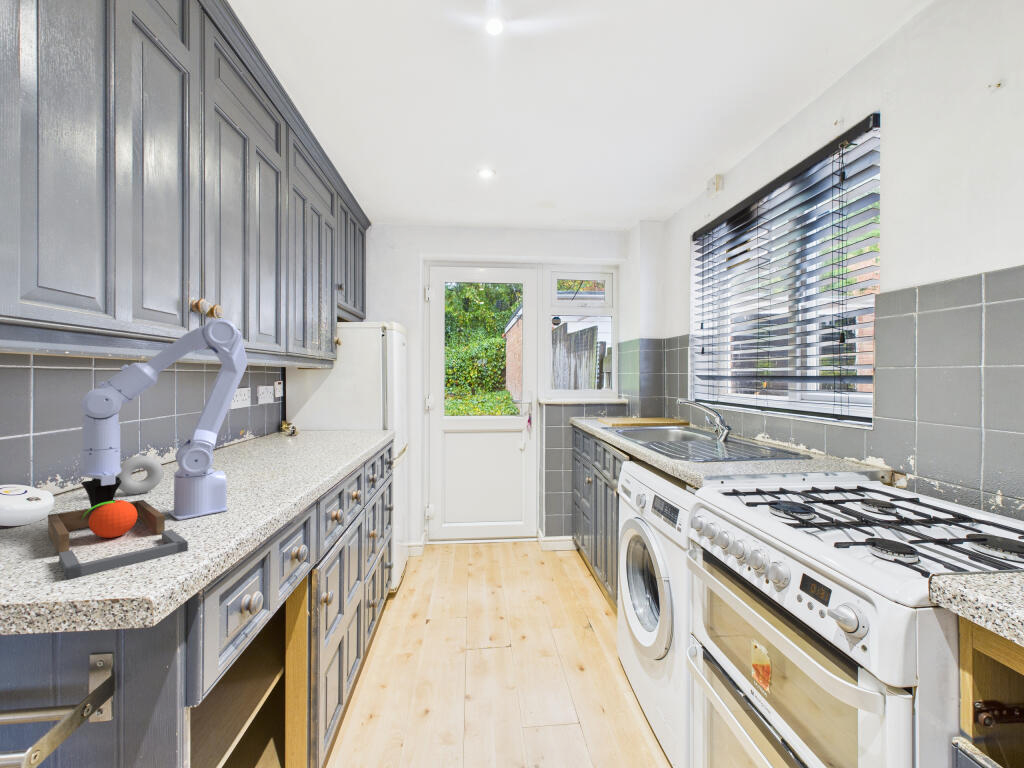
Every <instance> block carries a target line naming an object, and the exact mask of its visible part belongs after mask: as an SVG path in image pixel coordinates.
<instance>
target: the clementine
mask: <svg viewBox="0 0 1024 768" xmlns="http://www.w3.org/2000/svg"><path fill="white" fill-rule="evenodd" d="M129 502H130V501H126V500H123V499H113V501H108V502H103V503H100V504H98V505H95V506H94V507H92V508H91V507H90V509H89V510H88V511H87V512H89V511H90V510H92V509H93V508H95V507H97V506H98V507H97V508H96V509H95V510H94V511H93V512H92V514H91V516H90V517H89V527H88V528H89V529H90V530H91V532H92V533H93V534H94V535H96V536H98V537H101V538H105V539H106V538H107V539H114V538H117V537H120V536H123V535H124V534H126V533H128V532H129V531H130V530H131V529H132V528H133V527H134V526H135V524H136V523H137V520H138V518H137V516H138V515H137V510H136V508H135V507H134V506H133V505H132V504H131V503H129ZM87 512H86V513H87ZM86 513H85V514H86ZM85 514H84V516H85ZM84 516H83V517H84ZM82 519H83V518H82ZM113 537H114V538H113Z"/></svg>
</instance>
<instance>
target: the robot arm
mask: <svg viewBox="0 0 1024 768" xmlns="http://www.w3.org/2000/svg"><path fill="white" fill-rule="evenodd" d="M206 348H209V349H210V350H212V351H213V352H214V353H215V356H216V357H217V358H218V360H219V362H220V363H221V367H220V369H219V371H218V373H217V375H216V378H215V380H214V382H213V384H212V386H211V388H210V391H209V393H208V396H207V397H206V399H205V400H206V401H205V402H204V404H203V408H202V410H201V412H200V413H199V416H198V418H197V420H196V423H195V425H194V427H193V429H192V431H191V433H190V434H189V435H188V438H187V440H186V441H185V442H184V443H183V444H182V445H181V446H180V447H179V448H178V449H177V451H176V453H175V461H176V462H177V466H178V470H176V471H175V472H174V474H173V475H174V476H173V509H171V510H168V511H167V514H168V515H170V516H171V517H172V518H174V519H176V520H178V521H180V520H186V519H190V518H192V519H193V518H196V517H197V518H198V517H201V516H207V515H211V514H212V515H213V514H216V513H217V514H218V513H222V512H226V511H228V510H229V509H228V508H227V501H228V499H227V497H228V496H227V491H228V489H227V488H228V486H227V485H228V484H227V476H226V473H225V472H224V470H214V468H213V467H212V466H213V464H214V455H213V454H214V448H215V446H216V443H217V438H218V437H217V436H218V434H219V431H220V430H221V427H222V425H223V423H224V420H225V418H226V415H227V413H228V410H229V408H230V406H231V403H232V402H233V399H234V397H235V396H236V395H235V394H236V393H237V390H238V388H239V385H240V383H241V381H242V378H243V376H244V374H245V371H246V369H247V366H248V357H247V353H246V350H245V349H246V348H245V345H244V341H243V334H241V331H240V330H239V329H238V328H237V326H236V325H235V324H234V323H233V322H232V321H231V320H228V319H225V318H215V319H211V320H210V321H209V322H207V324H205V325H200V326H199V327H197V328H195V329H193V330H190V331H189V332H187V333H185V334H184V335H182V336H181V337H179V338H178V339H176V340H175V341H174V342H172V343H171V344H170V345H168V346H167V347H165V348H164V349H163V350H161V351H160V352H158V354H156V355H155V356H154V357H152V358H150V359H149V360H148V361H147V362H132V363H131V364H129V365H128V364H123V366H121V367H120V370H121V371H118V372H117V373H116V374H115V375H113V376H112V377H110V378H109V379H108V380H106V381H100V382H98V383H97V386H98V387H99V388H95V389H91V390H89V391H88V392H87V393H86V394H85V395H84V396H83V397H82V399H81V400H80V401H81V402H80V407H81V410H82V411H83V413H84V414H83V417H82V423H83V425H82V426H81V471H75V472H73V475H72V476H73V477H74V478H78V477H79V478H80V477H83V478H89V479H91V480H87V481H81V482H80V484H81V485H82V487H83V488H84V490H85V491H86V494H87V497H88V500H89V502H90V508H92V507H94V506H95V505H98V504H100V503H103V502H108V501H113V500H114V497H115V495H116V492H117V490H119V489H118V487H119V486H120V484H121V482H122V481H121V480H120V478H119V477H115V476H117V475H118V474H119V473H121V472H122V468H120V464H121V437H122V436H121V435H122V434H121V433H122V432H121V427H122V426H121V424H120V413H119V411H120V410H121V409H122V405H123V404H125V403H131V402H133V401H134V400H135V399H137V398H138V397H140V396H141V395H142V394H144V393H145V392H146V391H148V390H150V388H152V387H153V386H155V385H156V384H157V383H158V378H159V377H158V376H159V374H160V373H161V372H162V371H164V370H165V369H167V368H168V367H170V366H171V365H173V364H174V363H176V362H177V361H179V360H180V359H181V358H183V357H185V356H186V355H187V354H189V353H190V352H194V351H199V350H204V349H206ZM97 507H98V506H97ZM97 507H95V508H93V509H92V512H93V511H94V510H95V509H96V508H97Z"/></svg>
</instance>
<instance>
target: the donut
mask: <svg viewBox="0 0 1024 768" xmlns="http://www.w3.org/2000/svg"><path fill="white" fill-rule="evenodd" d="M120 468H122V472H121V473H119V474H118V475H117V476H115V477H119V478H120V480H121V481H122V482H121V484H120V486H119V487H118V489H117V490H120V491H121V492H123V493H126V494H130V495H141V494H144V493H148V492H150V491H152V490H153V489H156V487H157V486H158V485H159V484H160V482H161V481H162V479H163V476H164V469H163V465H162V464H161V463H160V461H159V460H157V459H156V458H154V457H152V456H148V455H137V456H136V455H135V456H132V457H129V458H127V459H125V460H123V461H122V462H120ZM138 469H142V470H144V471H146V473H147V474H146V476H145V478H143V479H141V480H135V479H133V478H132V474H133V472H134V471H136V470H138ZM140 493H141V494H140Z"/></svg>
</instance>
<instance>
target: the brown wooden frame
mask: <svg viewBox="0 0 1024 768" xmlns="http://www.w3.org/2000/svg"><path fill="white" fill-rule="evenodd" d="M128 502H129V503H131V504H132V505H133V506H134V507H135V508H136V510H137V515H138V516H137V519H138V518H139V519H140V520H141V521H142V522H143V523H144V524H143V523H142V522H141V521H140V520H139V519H138V520H139V521H140V522H141V523H142V524H143V525H145V526H146V527H147V528H148V529H149V530H150V529H151V530H150V531H151V532H153V533H154V535H156V536H159V535H162V531H166V530H165V529H166V528H165V527H166V526H165V525H166V524H165V522H166V521H165V517H166V516H165V515H164V514H163V513H162V512H161V511H159V510H158V509H156V508H155V507H153V506H152V505H151V504H149V503H148V502H147V501H145V500H144V499H141V500H140V499H139V500H134V501H128ZM90 508H91V507H90ZM90 508H89V507H88V508H82V509H76V510H71V511H70V510H69V511H63V512H57V513H51V514H48V515H47V533H48V535H49V538H50V540H51V542H52V544H53V546H54V548H55V551H56V552H57V555H59V553H60V552H65V551H70V532H69V531H73V530H79V529H78V528H80V529H84V527H85V528H89V517H90V516H91V514H92V510H90V511H89V512H87V511H88V510H89V509H90ZM86 512H87V513H86ZM85 513H86V514H85ZM84 514H85V516H84ZM83 516H84V517H83ZM82 518H83V519H82Z"/></svg>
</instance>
